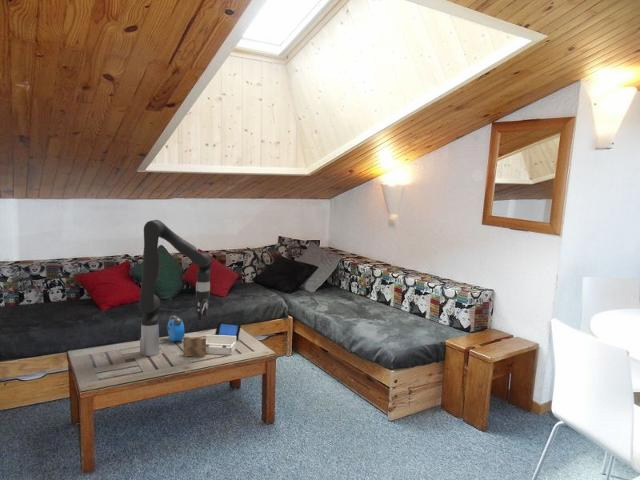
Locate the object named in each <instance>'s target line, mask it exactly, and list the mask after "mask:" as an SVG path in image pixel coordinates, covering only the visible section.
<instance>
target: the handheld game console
mask: <svg viewBox="0 0 640 480" xmlns="http://www.w3.org/2000/svg"><path fill="white" fill-rule="evenodd" d="M241 327H242V325H241V324H240V323H233V322H223V321H219V322H218V323H217V325H216V330H215V333H214V335H226V336H236V342H237V341H239V337H240V336H239V335H240V332H241Z"/></svg>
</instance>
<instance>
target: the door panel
mask: <svg viewBox="0 0 640 480" xmlns="http://www.w3.org/2000/svg"><path fill="white" fill-rule="evenodd" d="M182 342H183V343H182V344H183V348H182V349H183V350H182V351H183V356H189V357H190V356H191V357H192V356H193V357H205V356H207V354H206V337H202V336H201V337H199V336H184V338H183V339H182Z"/></svg>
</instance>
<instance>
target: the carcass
mask: <svg viewBox="0 0 640 480" xmlns="http://www.w3.org/2000/svg"><path fill="white" fill-rule="evenodd" d="M205 338H206V355H207V354H209V355H212V354H213V355H228V356H229V355H232V354H233V353H234V352H235V351H236V349H237V341H236V336H226V335H215V334H206V335H205Z"/></svg>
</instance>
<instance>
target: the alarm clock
mask: <svg viewBox="0 0 640 480" xmlns="http://www.w3.org/2000/svg"><path fill="white" fill-rule="evenodd" d="M167 334H168V337H169V338H168V339H169V340H170V341H171V342H178V341H181V342H183V338H184V337H185V326H184V322H183V320H182V318H180V317H178V316H177V315H171V316H170V317H169V321H168V323H167Z"/></svg>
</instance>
